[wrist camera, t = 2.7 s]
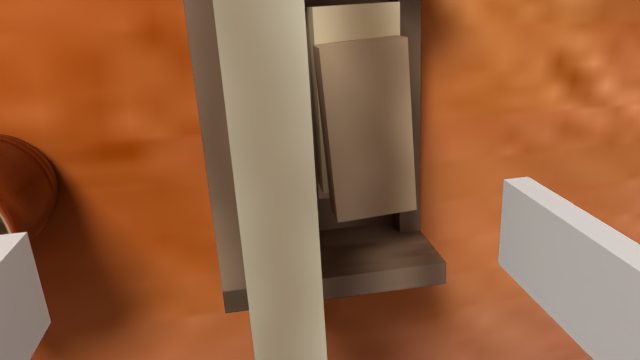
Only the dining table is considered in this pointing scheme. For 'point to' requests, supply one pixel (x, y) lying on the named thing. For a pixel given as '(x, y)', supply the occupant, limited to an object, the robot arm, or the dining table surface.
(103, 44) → the dining table surface
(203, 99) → the rack
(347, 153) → the offcut top
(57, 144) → the dining table surface
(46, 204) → the mug
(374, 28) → the offcut mid
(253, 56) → the birch board
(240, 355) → the dining table surface
